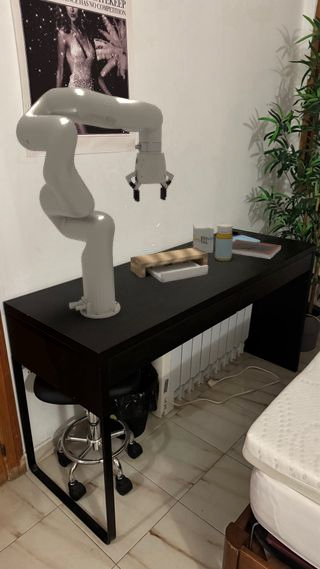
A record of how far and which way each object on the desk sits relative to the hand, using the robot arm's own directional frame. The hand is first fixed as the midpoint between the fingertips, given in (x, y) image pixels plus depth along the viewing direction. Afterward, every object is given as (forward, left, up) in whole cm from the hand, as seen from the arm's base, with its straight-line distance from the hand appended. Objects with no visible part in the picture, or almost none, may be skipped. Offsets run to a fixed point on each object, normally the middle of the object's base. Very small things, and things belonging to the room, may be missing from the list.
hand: (150, 200), depth 142 cm
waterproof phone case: (+65, +30, -31) cm, 78 cm away
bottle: (+39, +10, -30) cm, 50 cm away
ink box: (+38, +25, -30) cm, 55 cm away
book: (+58, +14, -31) cm, 67 cm away
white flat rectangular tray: (+13, +4, -30) cm, 33 cm away
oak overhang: (+13, +10, -30) cm, 34 cm away
